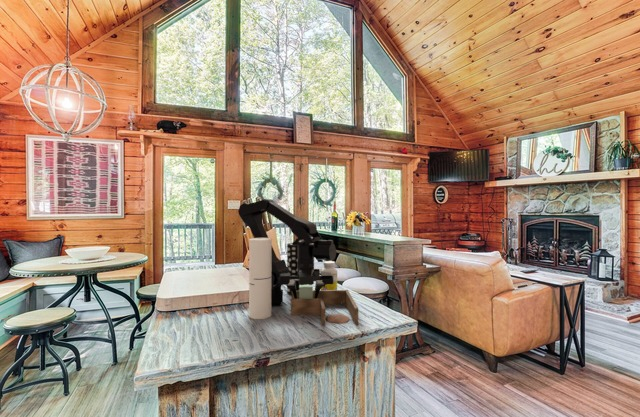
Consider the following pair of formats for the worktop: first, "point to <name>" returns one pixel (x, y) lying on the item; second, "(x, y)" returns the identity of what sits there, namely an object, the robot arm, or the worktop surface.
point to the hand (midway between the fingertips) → (305, 303)
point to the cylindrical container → (260, 277)
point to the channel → (324, 299)
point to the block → (305, 292)
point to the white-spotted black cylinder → (292, 264)
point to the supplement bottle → (331, 269)
